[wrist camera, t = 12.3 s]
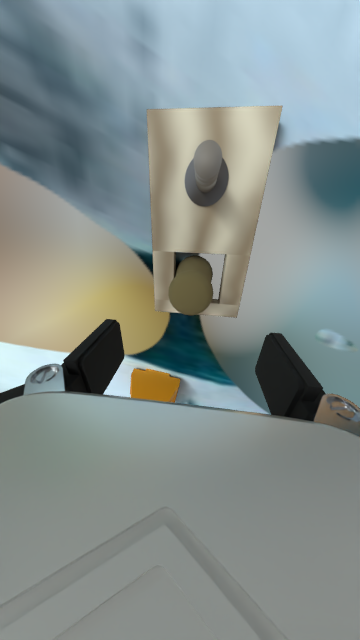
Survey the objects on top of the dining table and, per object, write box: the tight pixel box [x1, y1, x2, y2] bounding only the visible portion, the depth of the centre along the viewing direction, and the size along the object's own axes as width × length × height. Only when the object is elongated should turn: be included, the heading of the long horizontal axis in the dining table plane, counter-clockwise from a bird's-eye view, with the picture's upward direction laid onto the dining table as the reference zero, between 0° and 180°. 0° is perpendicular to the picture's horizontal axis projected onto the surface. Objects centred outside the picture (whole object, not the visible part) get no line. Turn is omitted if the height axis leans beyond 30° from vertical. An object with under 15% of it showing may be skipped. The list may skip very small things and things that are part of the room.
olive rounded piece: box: [168, 256, 213, 315], centre depth 23 cm, size 6×6×11 cm
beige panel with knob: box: [147, 106, 282, 317], centre depth 21 cm, size 14×24×9 cm, turn 178°
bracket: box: [130, 368, 180, 403], centre depth 36 cm, size 11×7×12 cm, turn 79°
